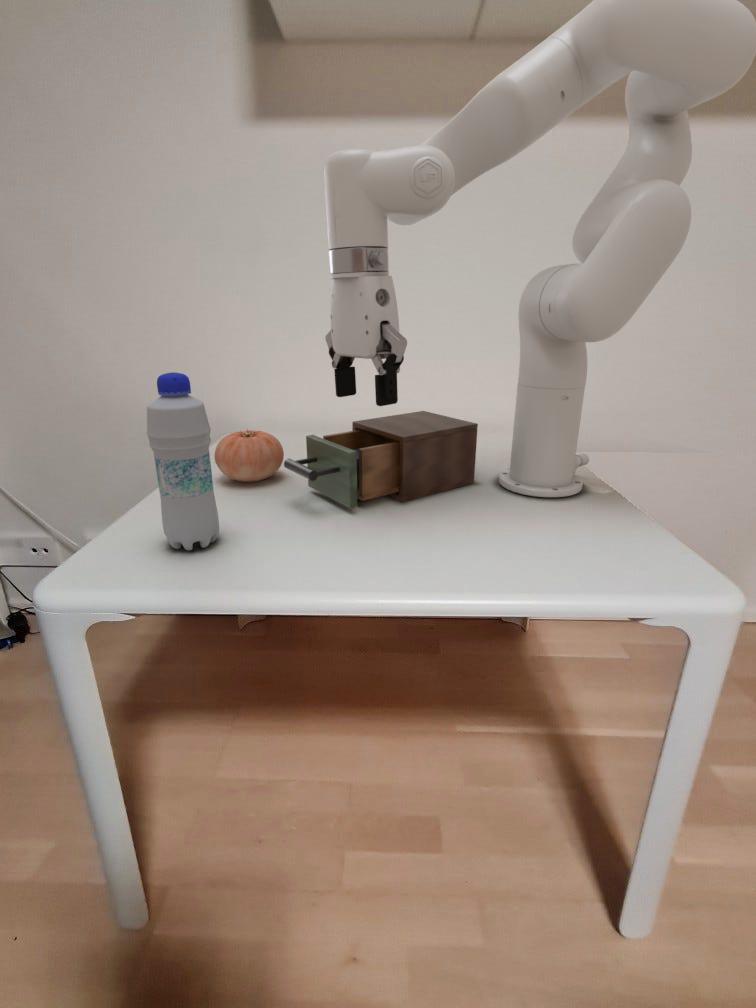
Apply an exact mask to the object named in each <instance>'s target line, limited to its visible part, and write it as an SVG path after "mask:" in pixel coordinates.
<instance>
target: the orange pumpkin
mask: <svg viewBox="0 0 756 1008" xmlns="http://www.w3.org/2000/svg"><path fill="white" fill-rule="evenodd" d="M214 450H215V451H214V455H213V456H214V458H213V459H214V462H215V464H216V466H217V468H218V469H219V471H220V472H221V473H222V474H223V475H225V476H226V477H228V478H229V479H232V480H234V481H239V482H245V483H254V482H259V481H263V480H265V479H269V478H270V477H272V476H273V475H274V474H276V473H277V472H278V471H279V470H280V468H281V467H282V464H283V463H284V457H285V456H284V455H285V452H284V448H283V445H282V444H281V442H280V440H279V439H278V438H277V437H276V436H275V435H273V434H270V433H268V432H266V431H262V430H249V429H246V430H242V431H241V429H240V430H239V431H235V432H231V433H229V434H227V435H225V436H224V437H222V438H221V439H220V440H219V441H218V443H217V445H216V447H215V449H214Z"/></svg>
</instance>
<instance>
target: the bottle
mask: <svg viewBox="0 0 756 1008" xmlns="http://www.w3.org/2000/svg"><path fill="white" fill-rule="evenodd" d="M156 388H157V393H158V396H159V397H157V398H156V399H154V400H152V401H151V402H149V403H148V404H147V405H146V436H147V438H148V441H149V443H148V446H149V447H150V449H151V450H152V452H153V458H154V464H155V465H154V466H155V471H156V478H157V484H158V490H159V491H158V492H159V496H160V509H161V523H162V529H163V533H164V535H165V537H166V540H167V542H168V544H169V545H170V546H171V547H172V548H173V549H176V550H177V549H181V547H182V546H183V549H185V551H192V550H193V548H194V543H196V542H199V546H200V547H201V548H203V549H204V548H207V547H208V546H209V545H210V543H214V542H215V541H216V540H217V539H218V537H219V533H220V521H219V520H220V519H219V512H218V506H217V502H216V496H215V491H214V481H213V480H214V479H213V472H212V464H211V454H210V445H211V441H212V438H211V430H212V429H211V426H210V423H209V418H208V415H207V410H206V407H205V404H204V402H203V401H202V400H201V399H198V398H196V397H194V396H191V395H190V394H192V388H191V381H190V378H189V376H188V375H186V374H185V373H182V372H181V373H180V372H175V371H174V372H172V371H171V372H167V373H162V374H160V375H159V376H158V377H157V379H156Z"/></svg>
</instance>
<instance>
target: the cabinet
mask: <svg viewBox="0 0 756 1008" xmlns="http://www.w3.org/2000/svg"><path fill="white" fill-rule="evenodd" d="M351 423H352V425H351V426H352V428H351V429H352V430H351V431H355V430H361V429H362V430H365V431H368V432H371V433H374V434H378V435H381V436H384V437H387V438H390V439H393V440H396V441H400V468H399V492H395V493H391V494H387V495H386V496H387V497H389V498H391V499H393V500H395V501H398V502H400V503H405V502H409V501H413V500H418V499H421V498H425V497H428V496H429V497H430V496H432V495H436V494H440V493H443V492H446V491H451V490H454V489H458V488H462V487H466V486H470V485H473V484H475V473H476V471H475V470H476V457H477V441H478V426H479V424H478V423H477V422H472V421H468V420H464V419H460V418H457V417H456V418H455V417H451V416H446V415H444V414H443V415H442V414H438V413H434V412H430V411H427V410H420V411H413V412H407V413H400V414H393V415H387V416H380V417H374V418H367V419H360V420H355V421H352V422H351Z"/></svg>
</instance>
